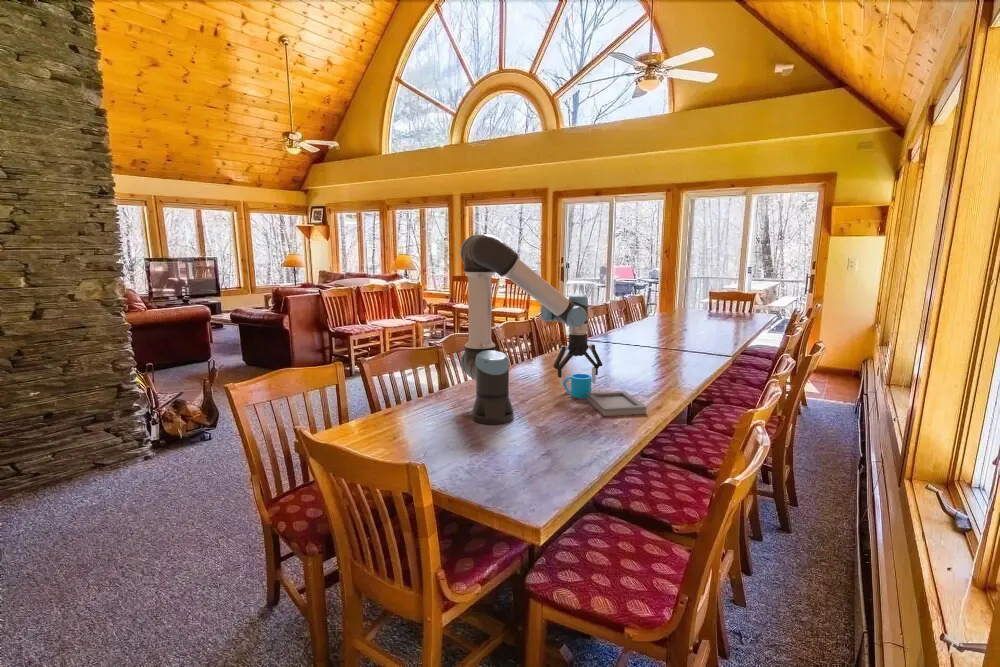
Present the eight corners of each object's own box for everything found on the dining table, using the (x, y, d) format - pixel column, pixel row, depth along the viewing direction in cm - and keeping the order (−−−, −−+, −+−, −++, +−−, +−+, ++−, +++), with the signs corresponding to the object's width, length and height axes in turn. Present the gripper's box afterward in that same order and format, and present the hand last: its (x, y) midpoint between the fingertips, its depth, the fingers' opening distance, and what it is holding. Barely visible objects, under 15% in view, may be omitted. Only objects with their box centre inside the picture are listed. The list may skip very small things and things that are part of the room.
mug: (594, 394, 205) (594, 375, 204) (586, 399, 198) (586, 380, 197) (567, 390, 211) (567, 371, 210) (559, 395, 205) (559, 375, 203)
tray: (604, 416, 179) (604, 409, 178) (586, 399, 198) (586, 393, 198) (646, 413, 181) (646, 406, 181) (624, 397, 201) (624, 391, 200)
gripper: (550, 336, 195) (550, 388, 199) (610, 333, 198) (609, 384, 202) (545, 333, 202) (546, 383, 206) (604, 330, 206) (603, 379, 210)
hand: (577, 384), depth 204 cm, fingers open, 13 cm apart
